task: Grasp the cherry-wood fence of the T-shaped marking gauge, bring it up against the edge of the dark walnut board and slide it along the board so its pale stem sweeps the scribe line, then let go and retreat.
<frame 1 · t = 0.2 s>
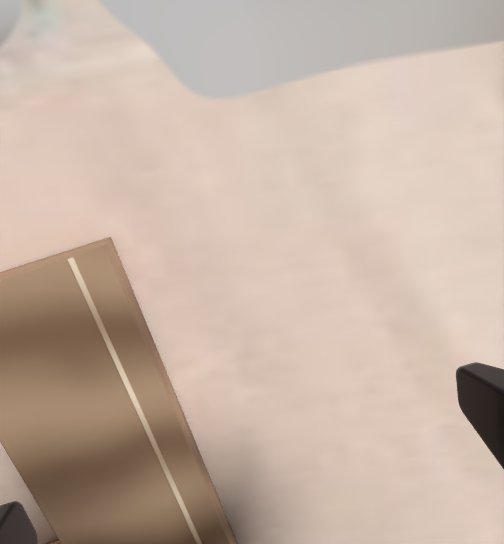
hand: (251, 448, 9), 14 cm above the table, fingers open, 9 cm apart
board: (116, 445, 25), on the table
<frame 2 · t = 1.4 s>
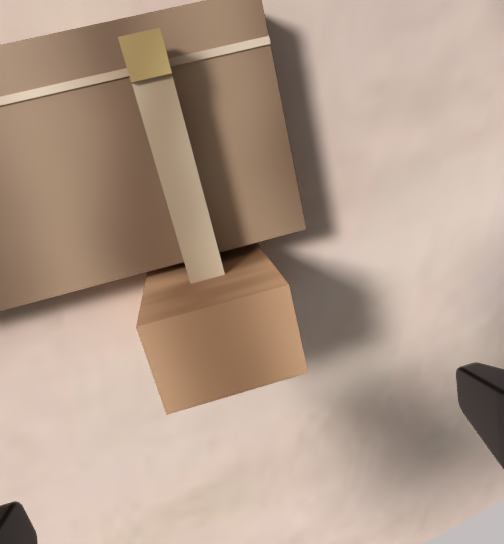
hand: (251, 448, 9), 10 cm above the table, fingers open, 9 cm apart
gauge: (211, 286, 19), on the table
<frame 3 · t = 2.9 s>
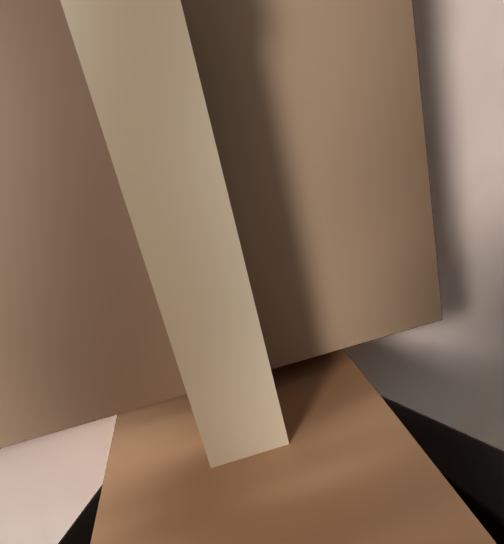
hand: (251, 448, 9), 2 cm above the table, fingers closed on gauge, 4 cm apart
gauge: (241, 405, 10), on the table, touching gripper
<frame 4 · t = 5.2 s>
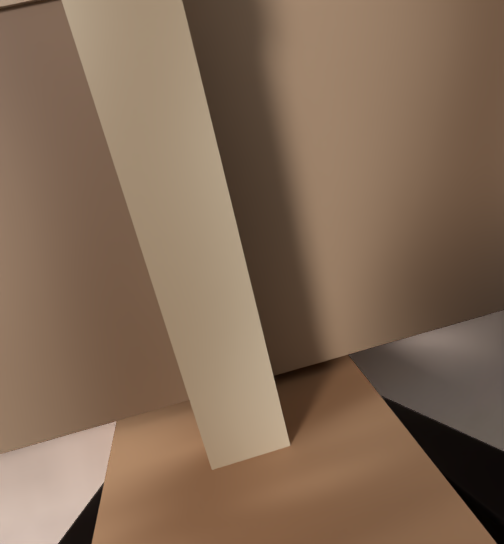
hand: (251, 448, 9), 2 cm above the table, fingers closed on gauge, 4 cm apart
gauge: (241, 406, 10), on the table, touching gripper
board: (137, 165, 9), on the table
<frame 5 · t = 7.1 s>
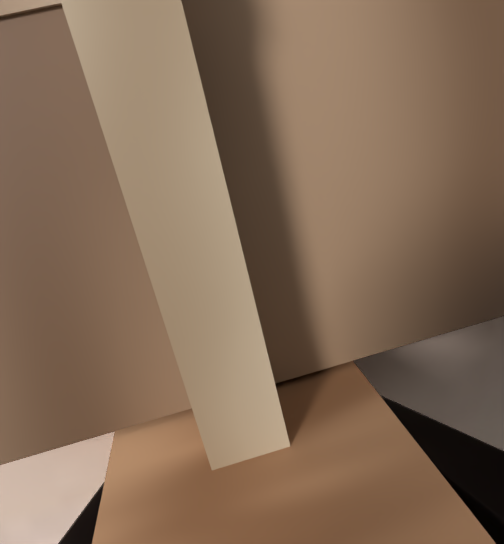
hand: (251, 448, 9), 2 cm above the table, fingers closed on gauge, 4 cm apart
gauge: (241, 406, 10), on the table, touching gripper
board: (457, 93, 9), on the table
when the fingers open (2 cm above the table, at t = 8.0 s): gauge stays where it is, on the table.
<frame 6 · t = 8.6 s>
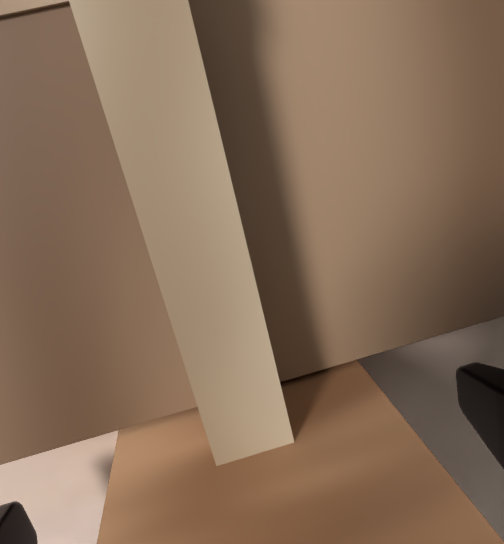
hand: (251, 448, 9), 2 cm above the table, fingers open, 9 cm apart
gauge: (244, 404, 10), on the table
board: (461, 92, 9), on the table
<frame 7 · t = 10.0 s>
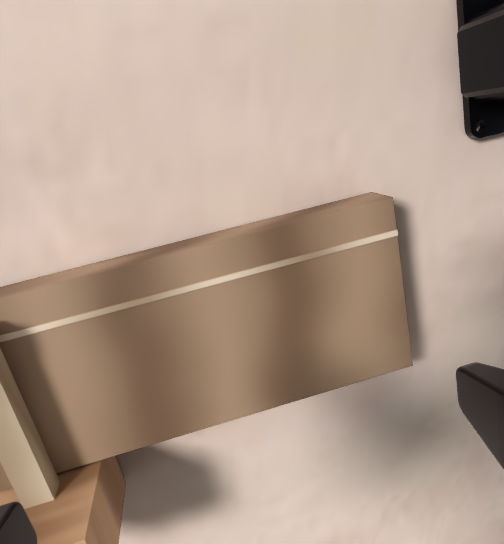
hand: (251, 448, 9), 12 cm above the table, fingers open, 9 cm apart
gauge: (70, 472, 21), on the table
board: (157, 336, 20), on the table
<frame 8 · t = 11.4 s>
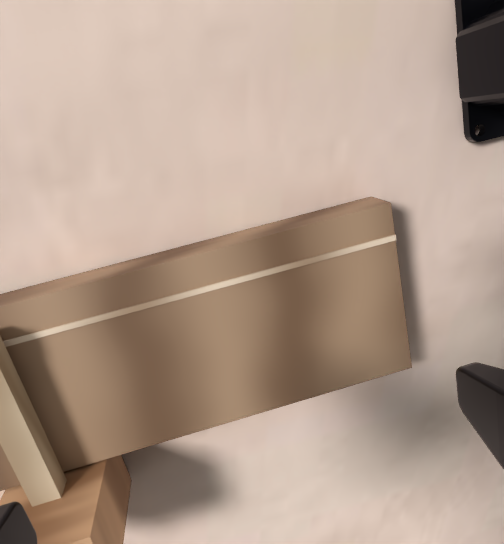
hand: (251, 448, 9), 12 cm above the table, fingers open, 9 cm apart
gauge: (77, 470, 22), on the table
board: (160, 339, 21), on the table
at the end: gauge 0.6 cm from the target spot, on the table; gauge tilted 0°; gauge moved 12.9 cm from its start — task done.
